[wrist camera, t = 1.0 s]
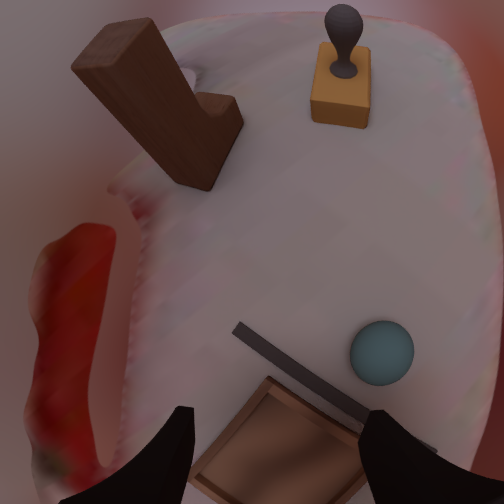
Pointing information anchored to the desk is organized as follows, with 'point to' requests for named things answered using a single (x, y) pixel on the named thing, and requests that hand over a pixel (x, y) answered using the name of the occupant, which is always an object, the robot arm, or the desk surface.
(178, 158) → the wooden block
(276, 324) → the desk surface
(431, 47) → the desk surface
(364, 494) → the desk surface
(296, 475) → the tray
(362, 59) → the rubber stamp
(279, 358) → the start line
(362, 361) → the ball
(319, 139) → the desk surface
